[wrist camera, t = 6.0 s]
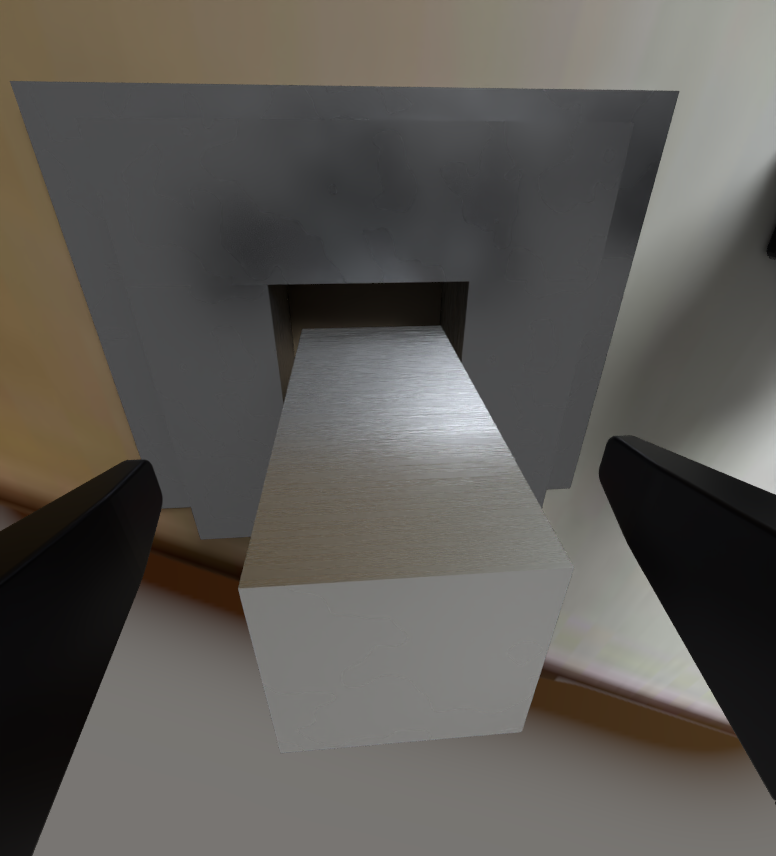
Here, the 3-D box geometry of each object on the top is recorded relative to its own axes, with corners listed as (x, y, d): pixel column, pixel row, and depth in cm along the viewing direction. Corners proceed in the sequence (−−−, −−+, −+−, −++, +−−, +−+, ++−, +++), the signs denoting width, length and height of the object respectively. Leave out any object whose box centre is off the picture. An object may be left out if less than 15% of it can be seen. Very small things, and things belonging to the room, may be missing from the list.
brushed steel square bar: (440, 325, 13) (574, 568, 5) (432, 452, 15) (516, 746, 8) (302, 328, 13) (237, 588, 5) (315, 457, 15) (284, 767, 8)
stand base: (664, 93, 15) (814, 65, 10) (563, 478, 23) (619, 562, 18) (27, 84, 13) (-148, 46, 9) (164, 497, 22) (113, 593, 17)
